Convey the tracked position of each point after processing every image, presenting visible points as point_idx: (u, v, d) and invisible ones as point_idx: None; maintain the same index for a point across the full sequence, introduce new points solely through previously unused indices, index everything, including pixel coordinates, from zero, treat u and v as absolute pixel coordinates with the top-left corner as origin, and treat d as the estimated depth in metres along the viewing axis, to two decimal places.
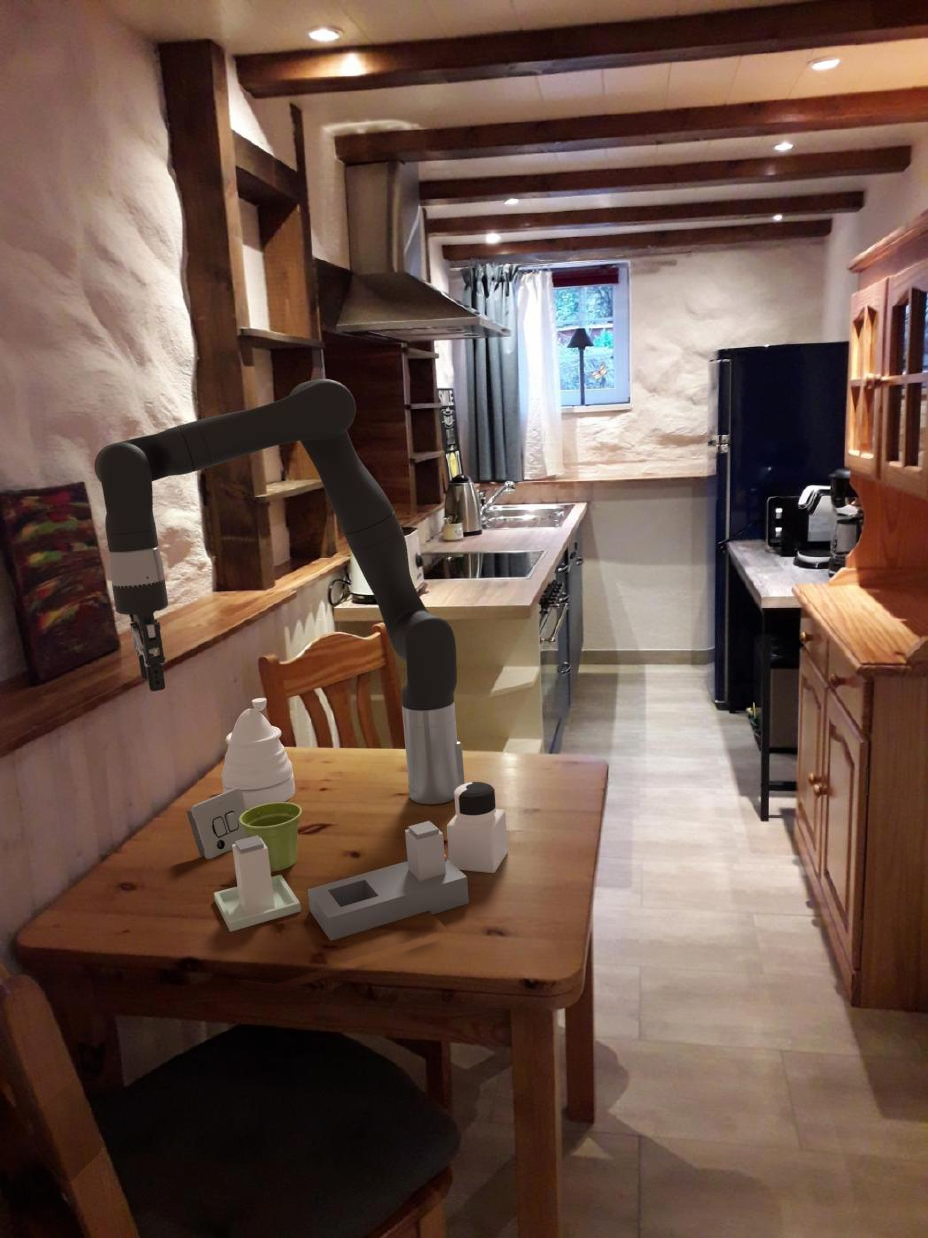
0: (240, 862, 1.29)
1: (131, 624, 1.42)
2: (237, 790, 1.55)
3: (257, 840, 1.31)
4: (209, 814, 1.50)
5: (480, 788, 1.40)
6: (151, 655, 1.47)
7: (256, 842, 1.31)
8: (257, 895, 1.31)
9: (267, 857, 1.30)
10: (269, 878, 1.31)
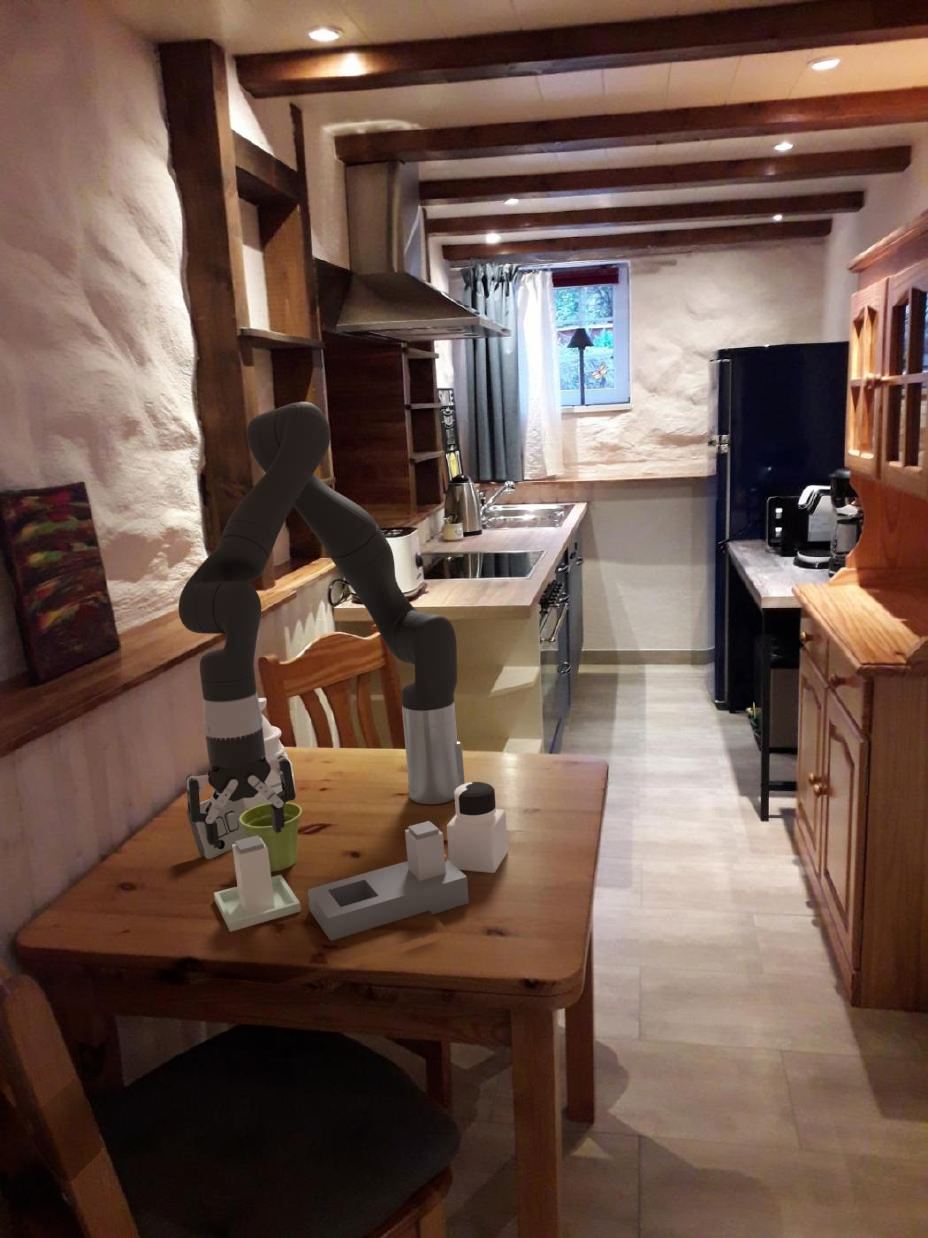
0: (240, 862, 1.29)
1: (235, 779, 1.27)
2: None
3: (257, 840, 1.31)
4: None
5: (480, 788, 1.40)
6: None
7: (256, 842, 1.31)
8: (257, 895, 1.31)
9: (267, 857, 1.30)
10: (269, 878, 1.31)
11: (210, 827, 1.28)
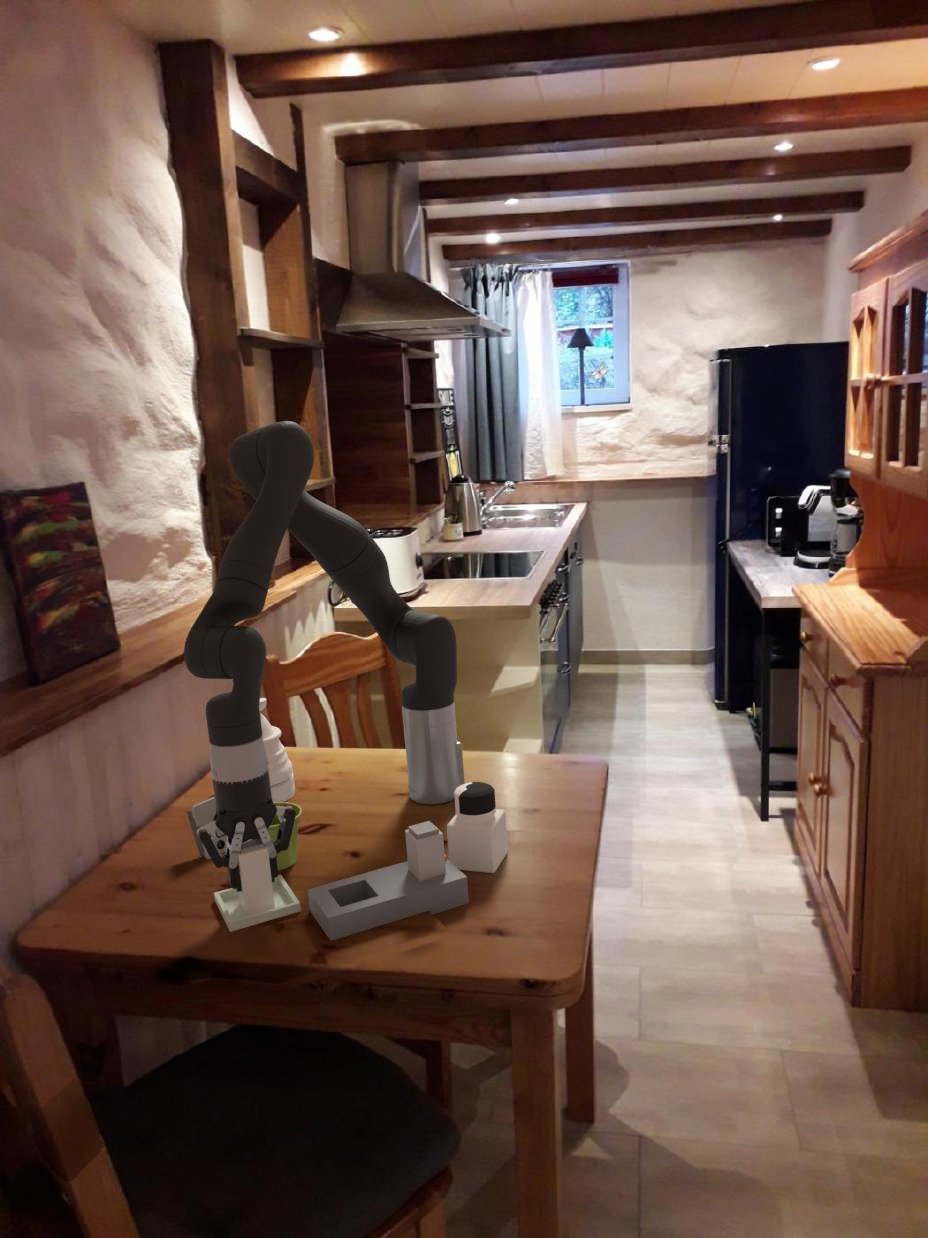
0: (240, 862, 1.29)
1: (240, 821, 1.28)
2: None
3: (257, 840, 1.31)
4: (209, 814, 1.50)
5: (480, 788, 1.40)
6: None
7: (256, 842, 1.31)
8: (257, 895, 1.31)
9: (267, 857, 1.30)
10: (269, 878, 1.31)
11: (233, 871, 1.30)
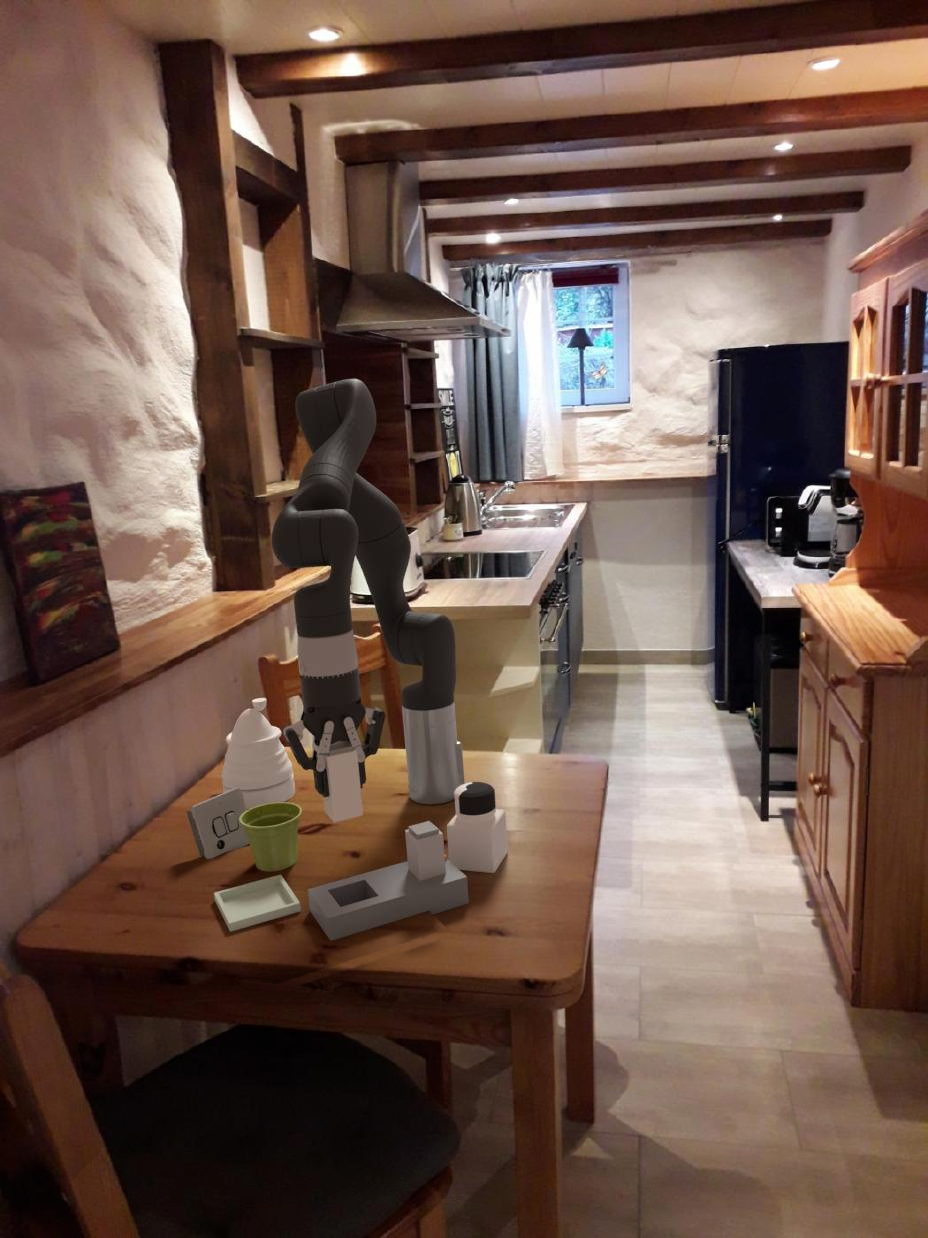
0: (329, 764, 1.22)
1: (329, 721, 1.21)
2: (237, 790, 1.55)
3: (345, 743, 1.24)
4: (209, 814, 1.50)
5: (480, 788, 1.40)
6: None
7: (344, 745, 1.24)
8: (345, 800, 1.23)
9: (356, 760, 1.23)
10: (358, 783, 1.24)
11: (320, 775, 1.23)
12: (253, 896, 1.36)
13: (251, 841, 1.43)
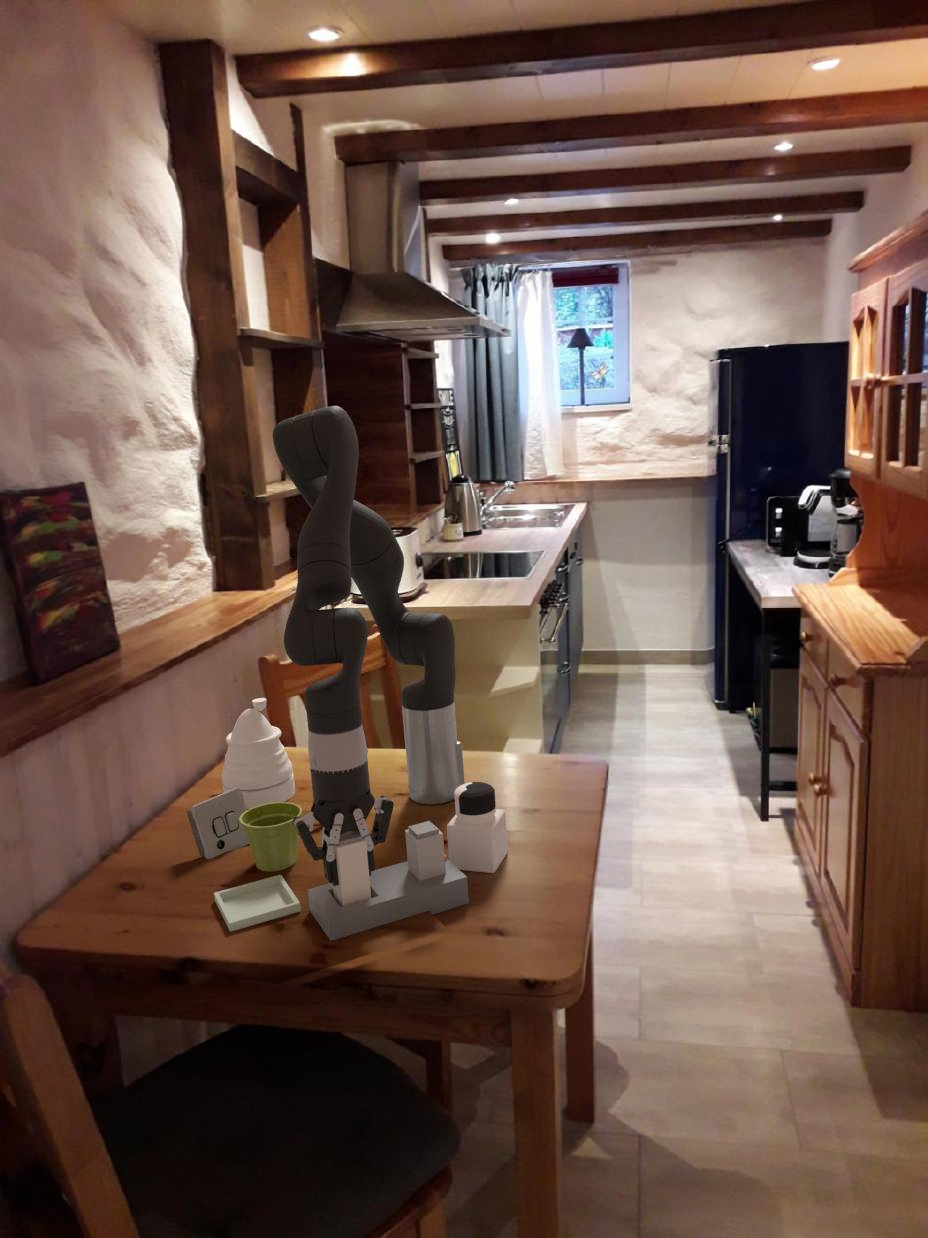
0: (338, 855, 1.24)
1: (339, 812, 1.23)
2: (237, 790, 1.55)
3: (354, 832, 1.27)
4: (209, 814, 1.50)
5: (480, 788, 1.40)
6: None
7: (353, 834, 1.26)
8: (354, 889, 1.26)
9: (365, 850, 1.26)
10: (367, 872, 1.26)
11: (330, 865, 1.25)
12: (253, 896, 1.36)
13: (251, 841, 1.43)
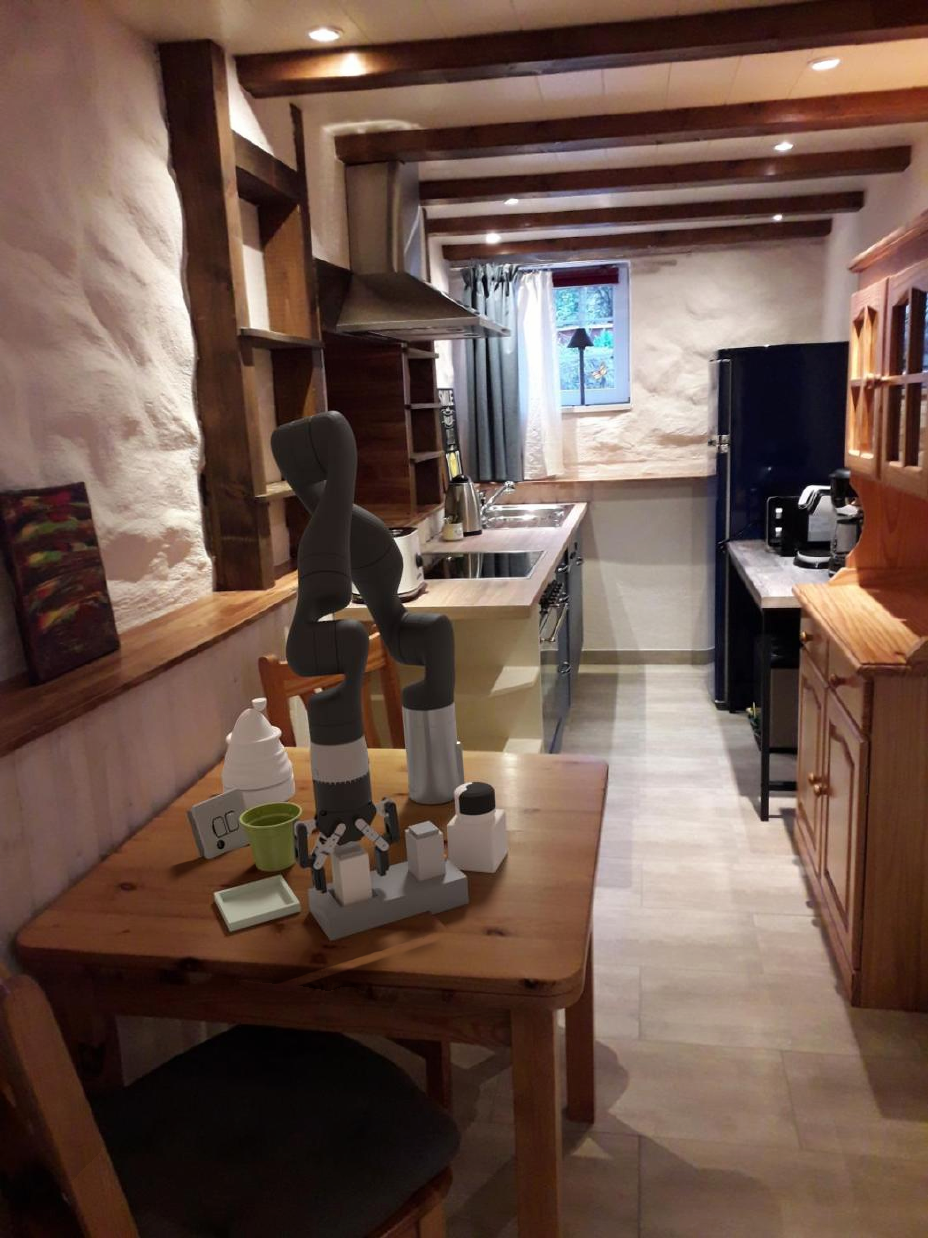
0: (341, 868, 1.25)
1: (343, 823, 1.24)
2: (237, 790, 1.55)
3: (356, 845, 1.27)
4: (209, 814, 1.50)
5: (479, 788, 1.40)
6: None
7: (356, 848, 1.27)
8: None
9: (367, 863, 1.26)
10: (369, 885, 1.27)
11: (317, 872, 1.25)
12: (253, 896, 1.36)
13: (251, 841, 1.43)
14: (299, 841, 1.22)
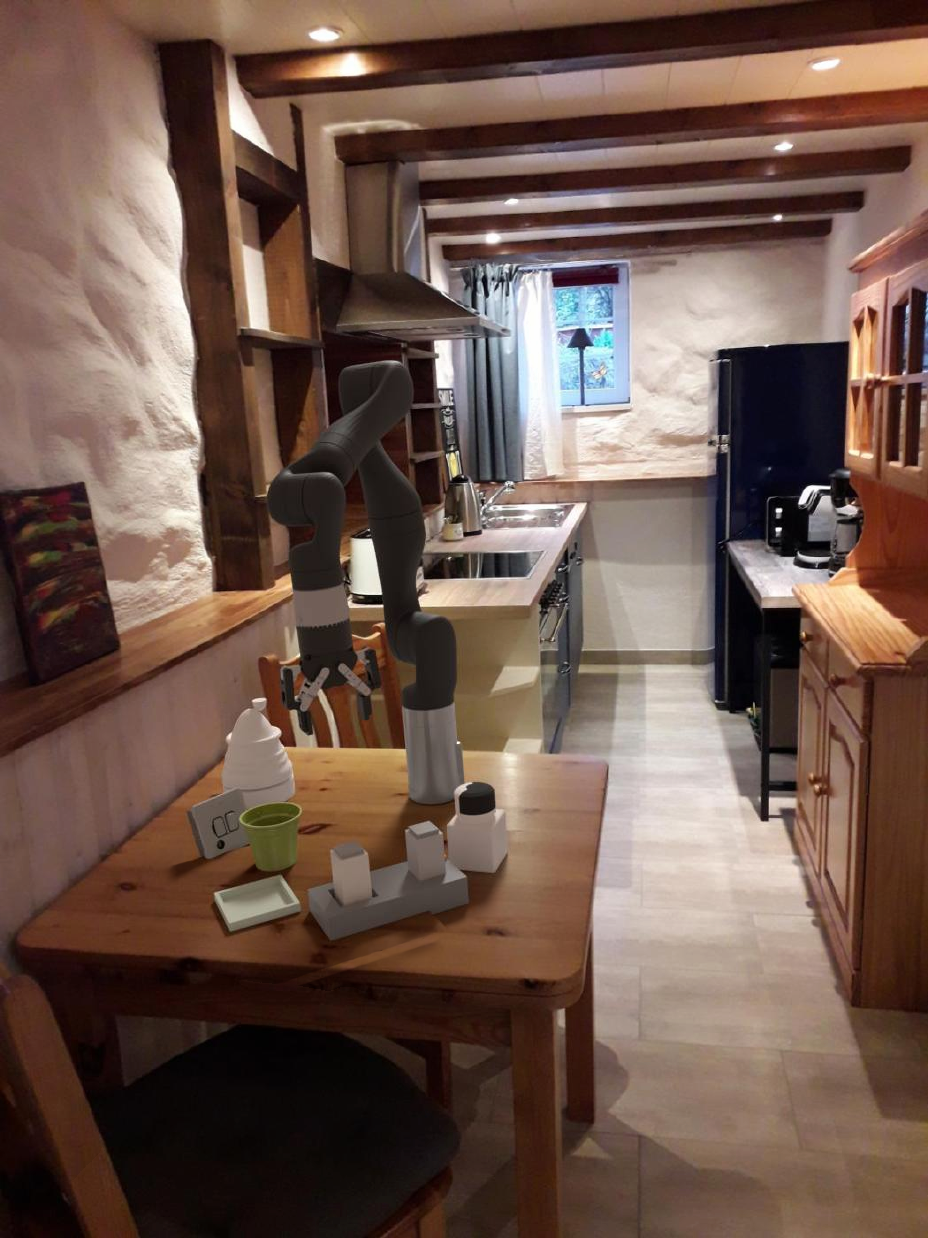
0: (341, 868, 1.25)
1: (326, 667, 1.32)
2: (237, 790, 1.55)
3: (356, 845, 1.27)
4: (209, 814, 1.50)
5: (480, 788, 1.40)
6: None
7: (356, 848, 1.27)
8: None
9: (367, 863, 1.26)
10: (369, 885, 1.27)
11: (304, 715, 1.32)
12: (253, 896, 1.36)
13: (251, 841, 1.43)
14: (286, 683, 1.30)
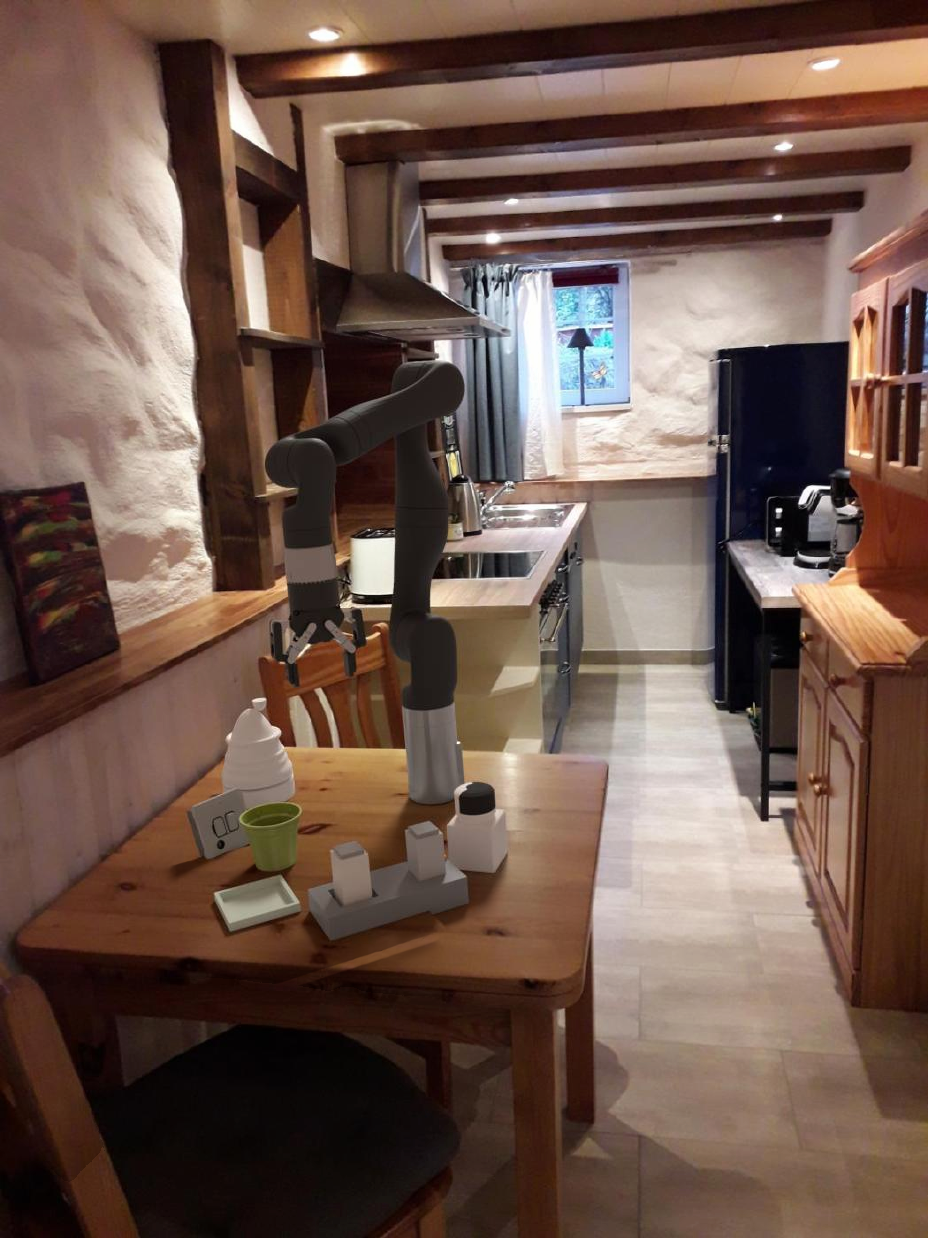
0: (341, 868, 1.25)
1: None
2: (237, 790, 1.55)
3: (356, 845, 1.27)
4: (209, 814, 1.50)
5: (479, 788, 1.40)
6: None
7: (356, 848, 1.27)
8: None
9: (367, 863, 1.26)
10: (369, 885, 1.27)
11: (291, 667, 1.40)
12: (253, 896, 1.36)
13: (251, 841, 1.43)
14: (275, 636, 1.38)
